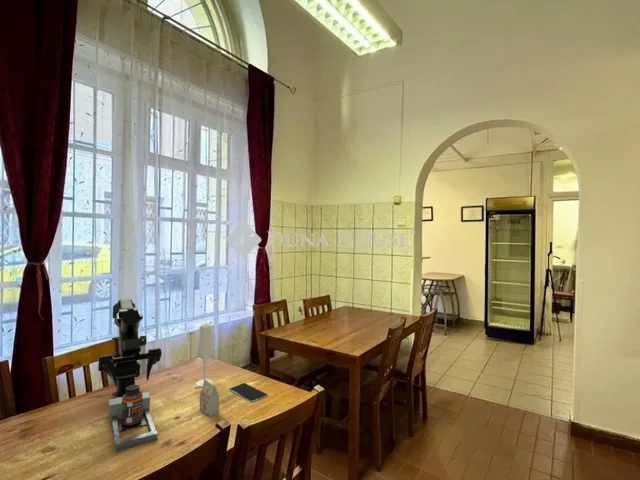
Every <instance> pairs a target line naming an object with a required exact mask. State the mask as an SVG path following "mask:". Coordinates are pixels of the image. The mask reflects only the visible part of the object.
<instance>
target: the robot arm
mask: <svg viewBox="0 0 640 480" xmlns="http://www.w3.org/2000/svg"><path fill="white" fill-rule="evenodd" d="M111 315H112V318H111V319H113V320H114V323H113V324H115V325H116V326H117V328H118V339H119V341H118V343H119V353H118V354H117V355H116V357H114V355H113V354H112V353H111V354H104V355H100V356H99V357H98V360H97V363H98V365H97V371H99V372H102V373H106V374H107V375H108V377H110V379H111V381H112V383H113V385H114V387H116V391H115V392H112V396H116V397H117V398H120V397H123V395H124V394H125V393H126V387H128V386H130V385H136V378H139V377H140V376H141V367H142V366H141V365H142V364H140V362H139V361H142V360H143V361H144V360H146V361H147V363H146V375H145V376H146V381H149V378H150V374H151V370H152V368H153V366H154V365H156V364H157V363H159V362H160V361H161V358H162V354H163V353H162V349H161V348H160V347H155V348H154V347H153V348H148V351H147V352H146V353H141V351H142V348H141V347H143V346H144V347H145V346H146V345H147V334H146V335H140V336H139V328H140V322H141V321H142V320H143V319H144V316H143V314H142V313H141V311H139V308H137V307H136V304H135V302H133V299H132V298H129V297H126V298H120V299H117V303H115V304H114V305H113V306H112V313H111Z"/></svg>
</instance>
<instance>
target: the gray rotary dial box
mask: <svg viewBox="0 0 640 480" xmlns="http://www.w3.org/2000/svg"><path fill="white" fill-rule="evenodd" d="M142 395H143V399H142V400H143V401H142V414H144V409H147V408H148V409H149V412H151V411H150V410H151V409H150V408H151V396H150V394H149V392H148V391H146V392H142ZM112 416H116V419H117V420H120V419H121V416H122V397H115V398H111V399H110V398H109V399H108V420H109V422H112Z"/></svg>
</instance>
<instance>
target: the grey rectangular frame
mask: <svg viewBox="0 0 640 480" xmlns="http://www.w3.org/2000/svg"><path fill="white" fill-rule="evenodd" d="M150 412H151V411H150ZM150 412H149V409H148V408H147V409H144V413H142V420H141V421H140V422H139V423H137V424H135V425H131V426H126V425H123V424H122V423H121V418H120V419H116V416H112V420H111V427H112V434H113V442H114V447H115V452H118V451H123V450H126V449H131V448H134V447H137V446H140V445H144V444H149V443H151V442H155V441H158V434H159V433H158V431H157V429H156V427H155V425H154V421H153V418H152V416H151V413H150ZM145 426H146V427H148V429H149V432H144V433H141V434H137V435H133V436H129V437H126V438H122V439H121V437H120V433H121V432H122V433H123V432H125V431H130V430H133V429H137V428H141V427H145Z"/></svg>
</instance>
